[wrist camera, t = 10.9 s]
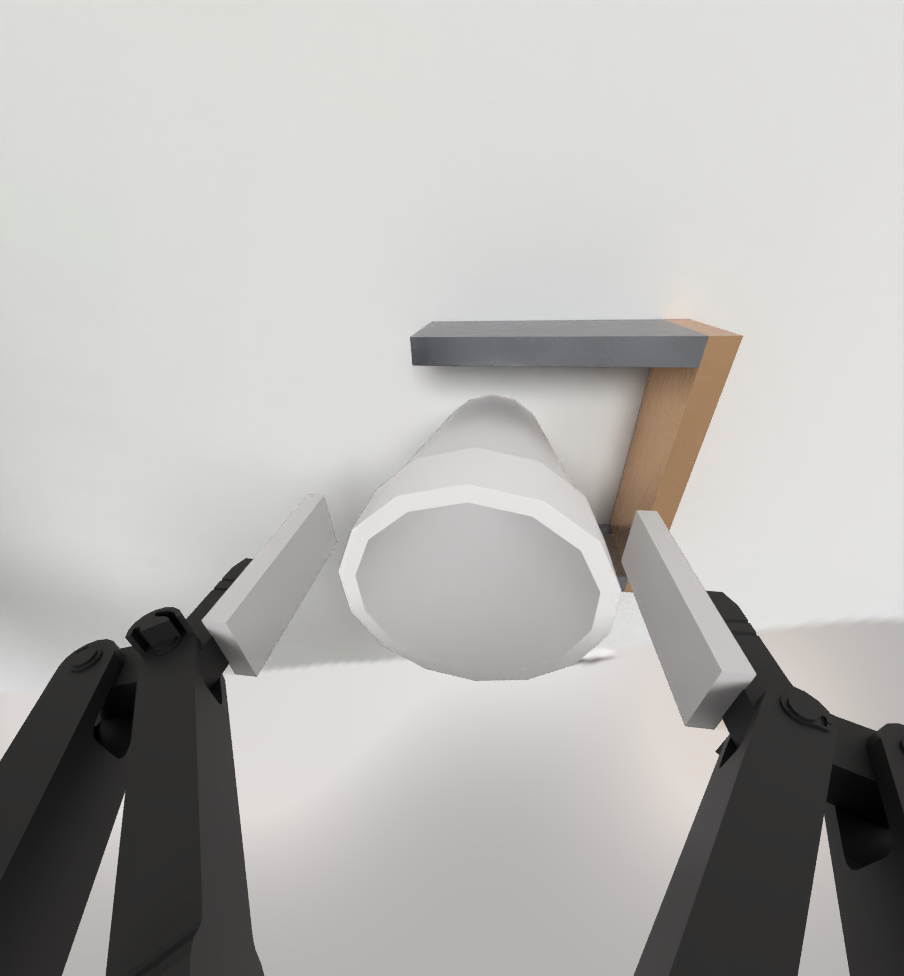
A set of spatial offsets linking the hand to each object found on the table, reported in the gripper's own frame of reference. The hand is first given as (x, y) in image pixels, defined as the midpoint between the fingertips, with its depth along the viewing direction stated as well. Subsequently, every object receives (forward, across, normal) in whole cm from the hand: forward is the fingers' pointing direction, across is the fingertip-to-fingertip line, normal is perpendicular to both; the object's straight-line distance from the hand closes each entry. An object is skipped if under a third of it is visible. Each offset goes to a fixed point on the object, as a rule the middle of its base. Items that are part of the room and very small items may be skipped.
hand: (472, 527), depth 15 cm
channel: (+9, +3, 0) cm, 9 cm away
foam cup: (+9, +1, 0) cm, 9 cm away
